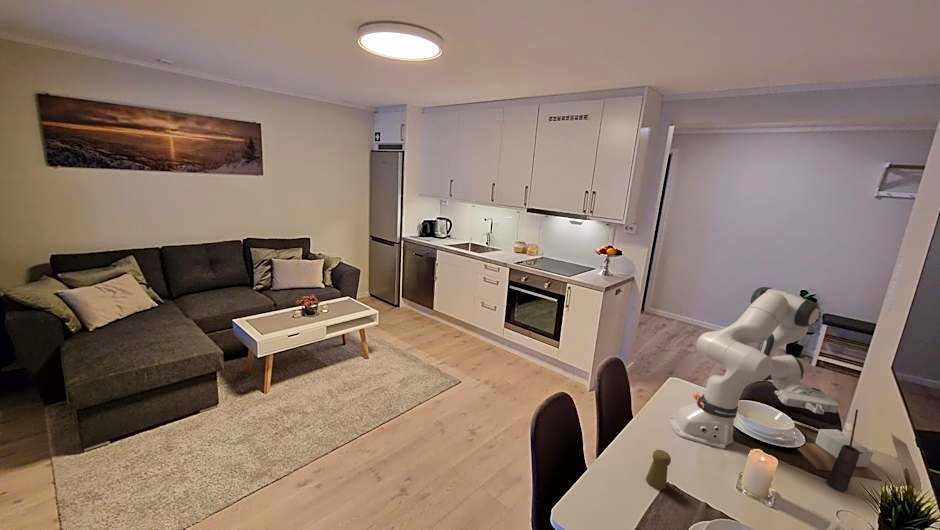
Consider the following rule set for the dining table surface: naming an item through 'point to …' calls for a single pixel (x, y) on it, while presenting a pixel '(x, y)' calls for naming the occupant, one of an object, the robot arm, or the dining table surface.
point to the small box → (836, 439)
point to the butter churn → (844, 465)
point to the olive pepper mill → (658, 470)
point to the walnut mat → (830, 461)
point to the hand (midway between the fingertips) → (819, 412)
